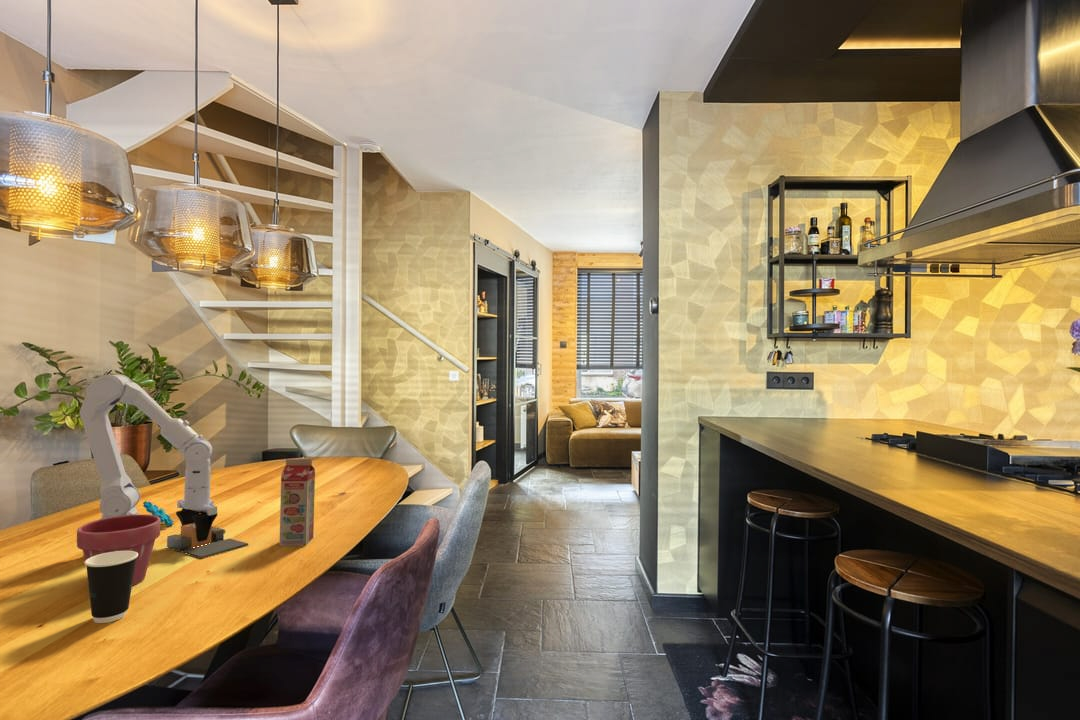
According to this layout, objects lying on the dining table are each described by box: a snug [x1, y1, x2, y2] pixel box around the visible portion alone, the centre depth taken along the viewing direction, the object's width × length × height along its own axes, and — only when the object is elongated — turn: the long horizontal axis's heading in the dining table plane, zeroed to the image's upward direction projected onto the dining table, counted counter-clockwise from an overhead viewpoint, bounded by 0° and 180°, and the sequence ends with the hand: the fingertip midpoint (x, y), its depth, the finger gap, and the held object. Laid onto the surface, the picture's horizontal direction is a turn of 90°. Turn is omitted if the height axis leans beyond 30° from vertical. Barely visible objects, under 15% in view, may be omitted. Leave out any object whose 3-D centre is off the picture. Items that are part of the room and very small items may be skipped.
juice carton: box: [278, 458, 316, 547], centre depth 148 cm, size 7×7×22 cm
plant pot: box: [76, 514, 161, 586], centre depth 119 cm, size 14×14×13 cm
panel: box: [182, 538, 249, 559], centre depth 141 cm, size 12×8×1 cm, turn 151°
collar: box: [180, 523, 213, 549], centre depth 145 cm, size 5×5×5 cm
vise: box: [166, 523, 226, 553], centre depth 146 cm, size 13×6×6 cm, turn 151°
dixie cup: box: [84, 551, 138, 624], centre depth 103 cm, size 8×8×11 cm
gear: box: [142, 500, 174, 527], centre depth 159 cm, size 11×6×10 cm
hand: (196, 538), depth 145 cm, fingers closed on collar, 5 cm apart
